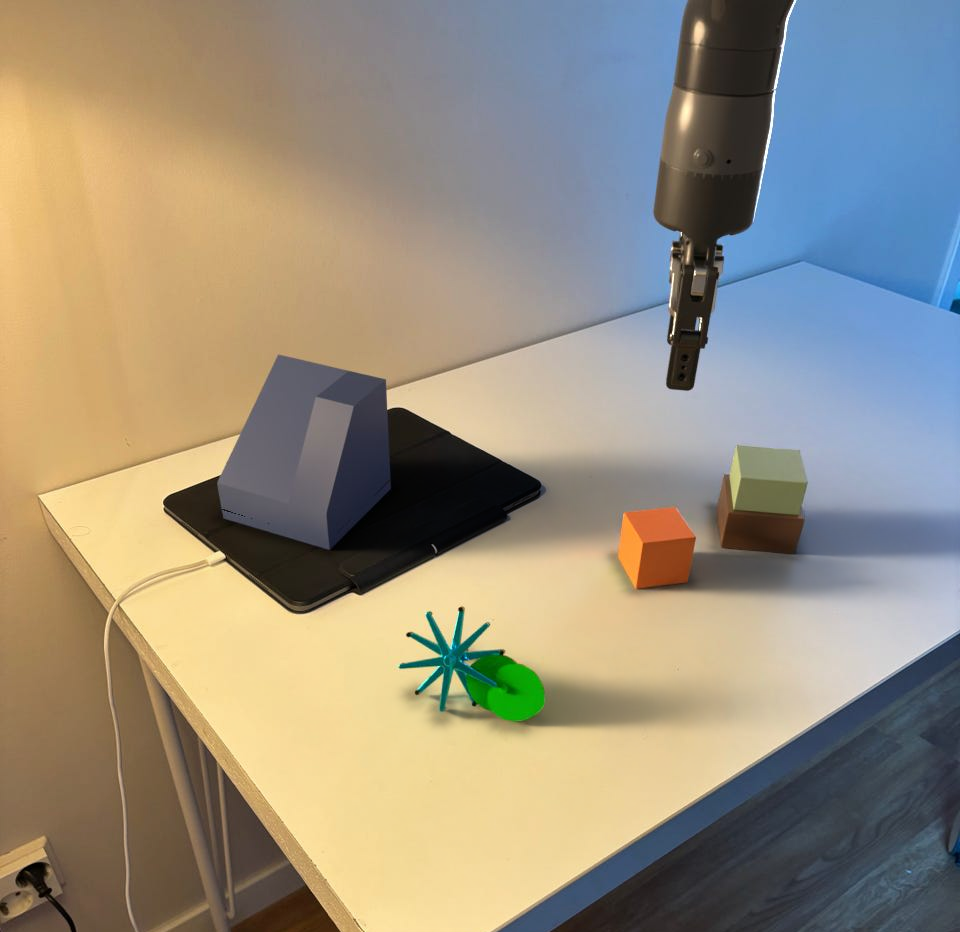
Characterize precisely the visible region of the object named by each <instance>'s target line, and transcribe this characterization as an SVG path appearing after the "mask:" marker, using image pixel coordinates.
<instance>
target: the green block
mask: <svg viewBox="0 0 960 932" xmlns="http://www.w3.org/2000/svg"><path fill="white" fill-rule="evenodd" d="M729 474H730V476H729V477H730V485H731V493H732V501H733V509H734V510H742V511H754V512H766V513H778V514H789V515H799V514H800V510H801V506H802V507H803V502H804V498H805V495H806V492H807V489H808V488H807V487H808V484H809V483H808V478H807V474H806V470H805V465H804V461H803V457H802V454H801V450H800V449H792V448H791V449H790V448H778V447H765V446H754V445H753V446H752V445H739V444H736V445H735V449H734V453H733V458H732V462H731V467H730V472H729Z"/></svg>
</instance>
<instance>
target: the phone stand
mask: <svg viewBox="0 0 960 932" xmlns="http://www.w3.org/2000/svg"><path fill="white" fill-rule="evenodd" d="M387 392H388V391H387V379H386V378H383V377H377V376H373V375H369V374H364V373H361V372H357V371H351V370H347V369H343V368H339V367H334V366H331V365H326V364H321V363H318V362H313V361H309V360H304V359H300V358H297V357H296V358H295V357H291V356H286V355H282V354H277V355H276V358H275V360H274V362H273V364H272V366H271V368H270V371H269V373H268V374H267V377H266V379H265V381H264V383H263V386H262V387H261V390H260V392H259V394H258V395H257V398H256V400H255V402H254V404H253V406H252V408H251V410H250V412H249V415H248V417H247V419H246V421H245V423H244V425H243V427H242V430H241V431H240V434H239V436H238V438H237V439H236V442H235V444H234V446H233V448H232V451H231V453H230V454H229V457H228V459H227V460H226V463H225V465H224V467H223V469H222V471H221V473H220V475H219V478H218V480H217V482H216V484H217V485H216V486H217V490H218V497H219V502H220V508H221V513H222V518H223V519H224V520H226V521H227V520H228V521H231V522H233V523H234V522H235V523H237V524H241V525H244V526H248V527H251V528H254V529H258V530H261V531H265V532H267V533H271V534H275V535H277V536H281V537H284V538H288V539H291V540H294V541H298V542H302V543H305V544H309V545H312V546H315V547H319V548H322V549H324V550H328V551H330V550H332V548H333V547H335V545H336V544H337V543H338V542H339V541H340V540H341V539H342V538H343V537H344V536H345V535H346V534H347V533H348V532H349V531H350V530H351V529H352V528H353V527H354V526H355V525H356V524H357V523H358V522H359V521H360V520H361V519H362V518H364V516H366V514H367V513H368V512H369V511H370V510H372V508H373V507H374V506H376V504H377V503H378V502H379V501H380V500H381V499H382V498H383V497H384V496H385V495H387V493H388V492H389V491H391V488H392V482H391V461H390V460H391V459H390V440H389V439H390V438H389V419H388V418H389V414H388V393H387ZM389 479H390V481H389V482H388V483H387V481H388V480H389ZM385 483H387V484H386V485H385ZM384 485H385V486H384ZM383 486H384V487H383ZM382 487H383V488H382ZM381 488H382V489H381ZM380 489H381V490H380ZM379 490H380V491H379ZM378 491H379V492H378ZM377 492H378V493H377ZM376 493H377V494H376ZM375 494H376V495H375ZM374 495H375V496H374ZM362 507H363V508H362ZM222 509H225V510H228V511H231V512H233V513H231V512H227V511H224V510H222ZM234 513H236V514H234ZM238 514H240V515H238ZM241 515H243V516H241ZM244 516H245V517H244ZM251 518H252V519H251ZM351 518H352V519H351ZM349 520H350V521H349ZM348 521H349V522H348ZM268 523H269V524H268ZM346 523H347V524H346ZM345 524H346V525H345ZM343 526H344V527H343ZM342 527H343V528H342ZM341 528H342V529H341ZM340 529H341V530H340ZM339 530H340V531H339ZM338 531H339V532H338ZM337 532H338V533H337ZM329 540H330V541H329Z"/></svg>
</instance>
